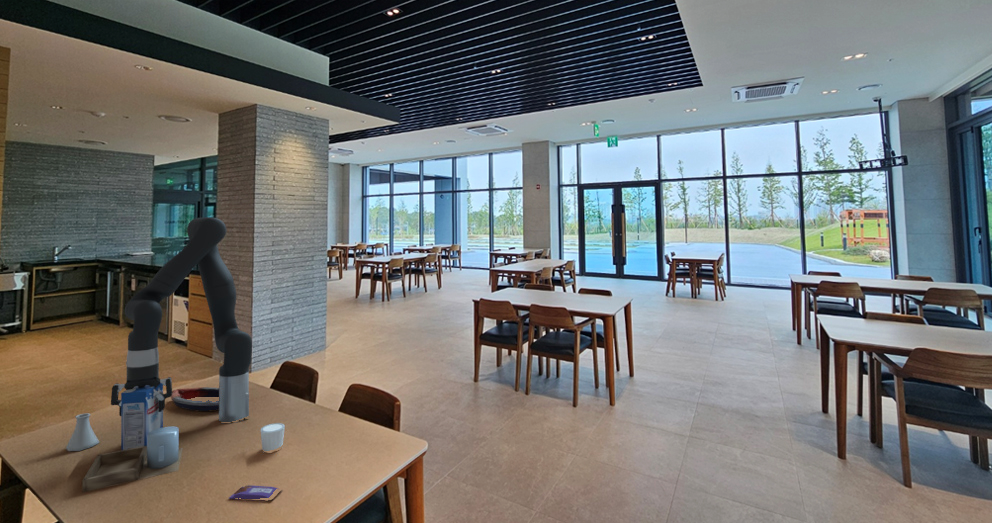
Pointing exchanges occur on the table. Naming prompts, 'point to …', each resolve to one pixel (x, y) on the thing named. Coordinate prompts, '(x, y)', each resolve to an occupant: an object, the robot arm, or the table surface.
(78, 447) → the flask
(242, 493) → the snack package
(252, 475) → the table surface
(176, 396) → the dish
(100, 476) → the caddy
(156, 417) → the milk carton
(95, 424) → the table surface
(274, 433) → the shot glass
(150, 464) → the pale blue rounded block
